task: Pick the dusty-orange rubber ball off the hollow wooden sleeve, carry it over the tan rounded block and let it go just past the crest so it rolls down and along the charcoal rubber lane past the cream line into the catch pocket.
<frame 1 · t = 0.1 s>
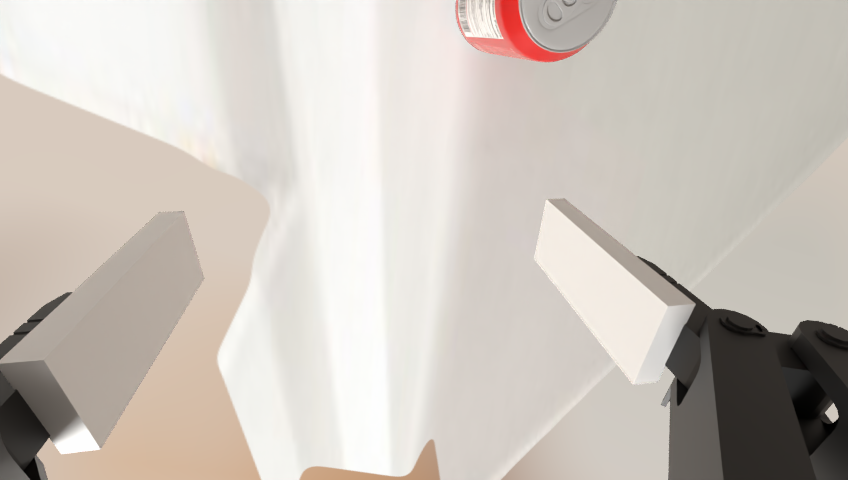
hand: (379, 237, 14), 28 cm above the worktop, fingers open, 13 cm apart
soda can: (492, 6, 36), on the worktop
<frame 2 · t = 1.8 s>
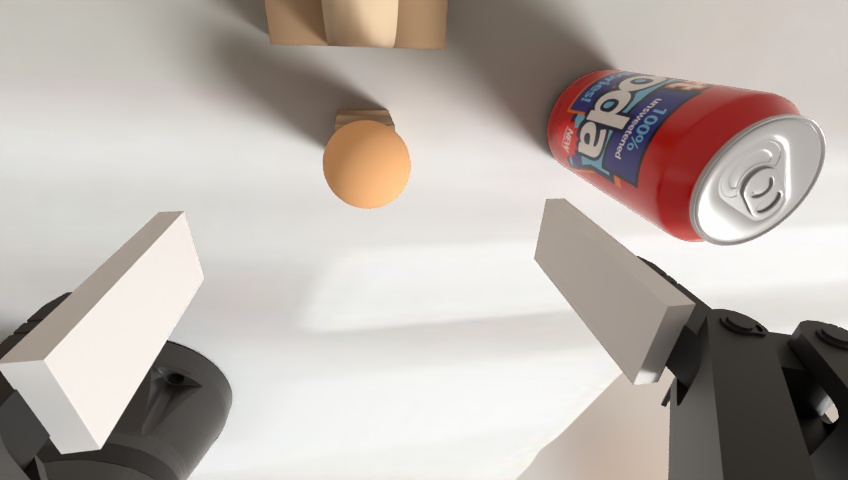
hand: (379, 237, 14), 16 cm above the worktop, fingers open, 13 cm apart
hollow wooden sleeve: (364, 134, 28), on the worktop
ball: (367, 165, 22), point 7 cm above the worktop, touching hollow wooden sleeve
soda can: (586, 120, 31), on the worktop
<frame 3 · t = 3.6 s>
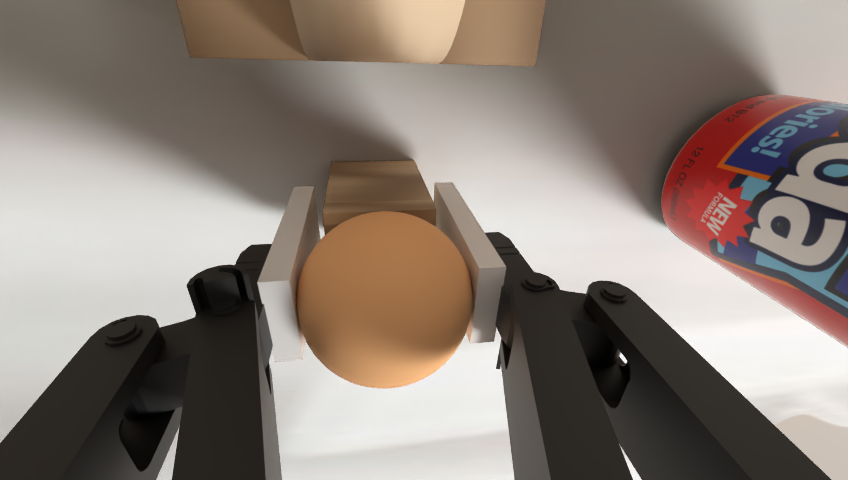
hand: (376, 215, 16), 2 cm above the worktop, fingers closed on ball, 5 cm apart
hollow wooden sleeve: (374, 198, 17), on the worktop
ball: (386, 296, 11), point 7 cm above the worktop, touching gripper, hollow wooden sleeve
soda can: (716, 169, 20), on the worktop
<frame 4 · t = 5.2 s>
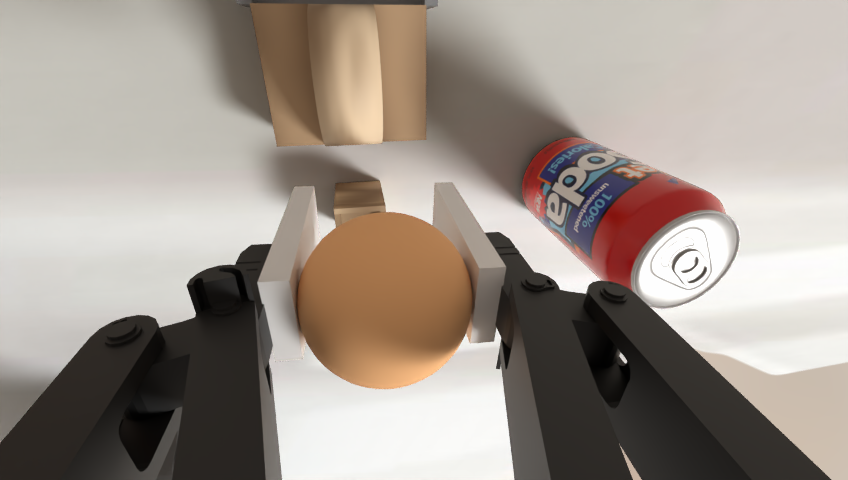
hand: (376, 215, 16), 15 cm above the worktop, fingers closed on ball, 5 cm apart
hollow wooden sleeve: (359, 202, 32), on the worktop
ball: (386, 297, 11), point 21 cm above the worktop, touching gripper
soda can: (557, 177, 34), on the worktop
tan rounded block: (348, 73, 27), on the worktop
when the fingers open (6 cm above the worktop, at t = 6.8 s): ball drops 9 cm and tips over, point 2 cm above the worktop.
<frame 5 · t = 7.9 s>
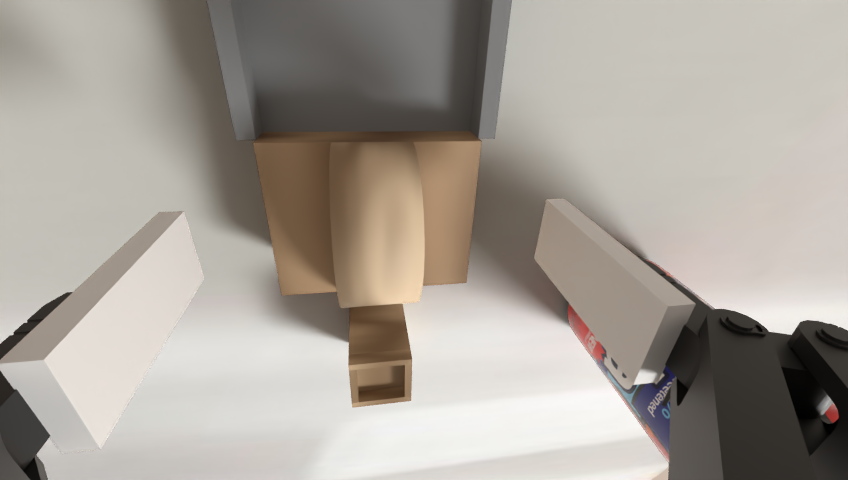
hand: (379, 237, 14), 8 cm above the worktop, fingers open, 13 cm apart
hollow wooden sleeve: (376, 323, 27), on the worktop
soda can: (607, 292, 29), on the worktop
tan rounded block: (372, 192, 22), on the worktop
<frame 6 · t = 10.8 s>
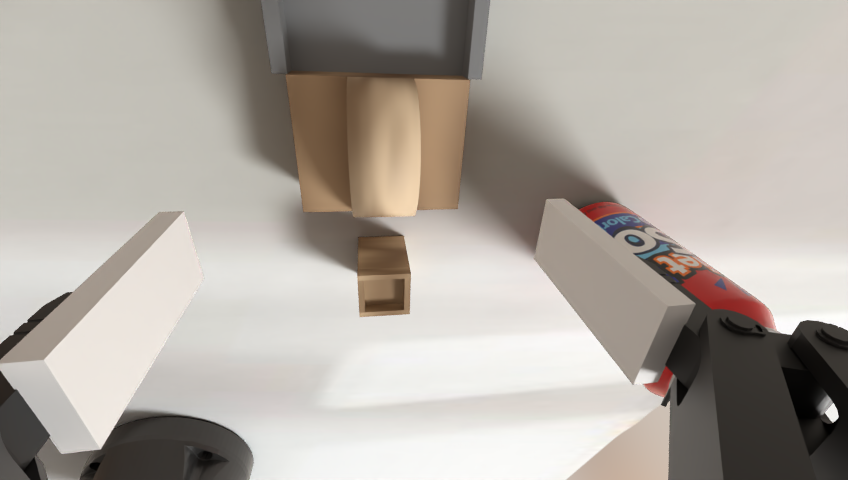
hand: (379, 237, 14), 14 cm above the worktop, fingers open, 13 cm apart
hollow wooden sleeve: (381, 255, 31), on the worktop
soda can: (586, 236, 33), on the worktop
tan rounded block: (379, 133, 26), on the worktop
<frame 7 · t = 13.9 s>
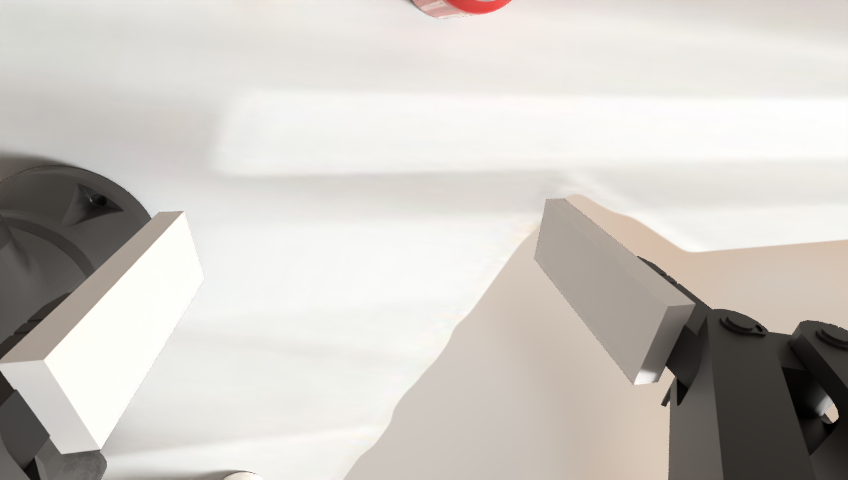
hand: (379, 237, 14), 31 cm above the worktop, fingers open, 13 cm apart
pitcher: (72, 444, 58), on the worktop
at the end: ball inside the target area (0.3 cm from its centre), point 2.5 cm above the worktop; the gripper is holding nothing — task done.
